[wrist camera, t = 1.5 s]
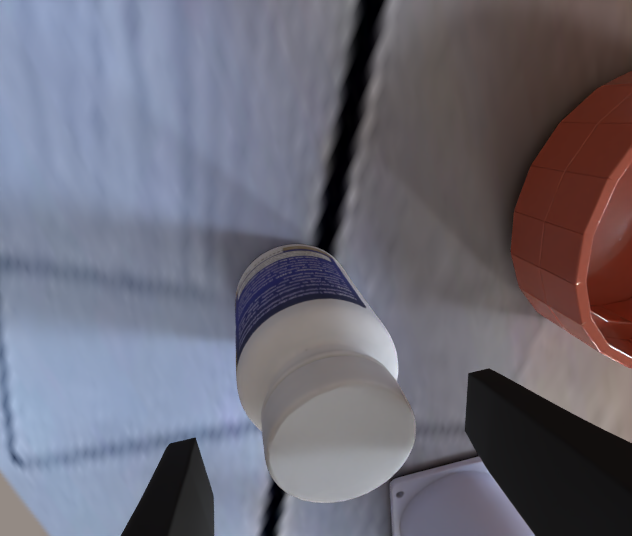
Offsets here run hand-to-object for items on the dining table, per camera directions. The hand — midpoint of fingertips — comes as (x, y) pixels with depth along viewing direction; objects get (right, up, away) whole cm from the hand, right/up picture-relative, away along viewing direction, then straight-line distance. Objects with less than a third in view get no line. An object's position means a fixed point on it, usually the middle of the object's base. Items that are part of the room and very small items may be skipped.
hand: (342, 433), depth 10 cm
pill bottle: (-2, +3, +8) cm, 9 cm away
